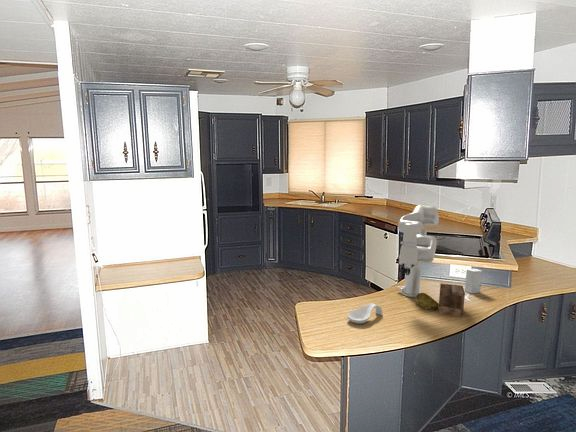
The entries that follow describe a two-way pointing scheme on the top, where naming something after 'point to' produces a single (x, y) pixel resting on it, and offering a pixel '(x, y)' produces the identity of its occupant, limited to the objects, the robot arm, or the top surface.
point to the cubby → (451, 299)
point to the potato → (427, 301)
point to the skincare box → (473, 281)
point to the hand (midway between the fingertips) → (407, 274)
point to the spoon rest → (363, 313)
